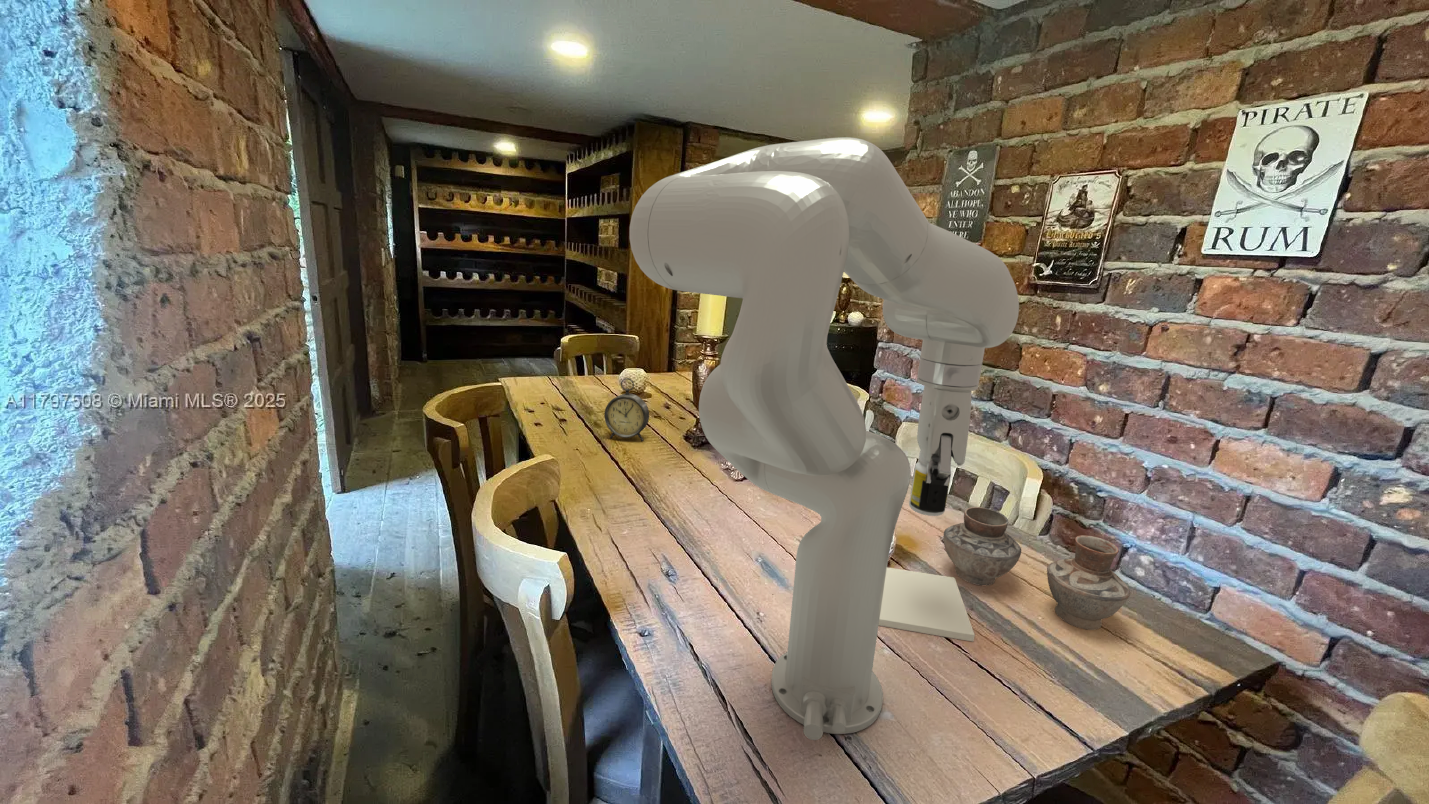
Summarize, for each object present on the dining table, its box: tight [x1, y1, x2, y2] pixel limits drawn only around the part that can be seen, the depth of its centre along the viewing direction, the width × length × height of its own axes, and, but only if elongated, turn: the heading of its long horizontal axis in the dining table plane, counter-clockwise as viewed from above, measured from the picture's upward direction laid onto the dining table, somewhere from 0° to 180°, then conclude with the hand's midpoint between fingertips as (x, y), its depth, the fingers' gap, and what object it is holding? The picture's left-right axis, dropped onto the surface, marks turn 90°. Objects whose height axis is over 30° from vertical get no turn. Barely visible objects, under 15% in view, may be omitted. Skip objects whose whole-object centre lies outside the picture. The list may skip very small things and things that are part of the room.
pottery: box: [942, 506, 1131, 631], centre depth 84 cm, size 11×25×12 cm, turn 47°
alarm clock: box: [604, 377, 650, 442], centre depth 144 cm, size 11×5×16 cm, turn 81°
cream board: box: [878, 566, 976, 643], centre depth 82 cm, size 14×14×1 cm
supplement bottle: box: [908, 450, 952, 517], centre depth 77 cm, size 5×5×8 cm
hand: (928, 499), depth 78 cm, fingers closed on supplement bottle, 4 cm apart
